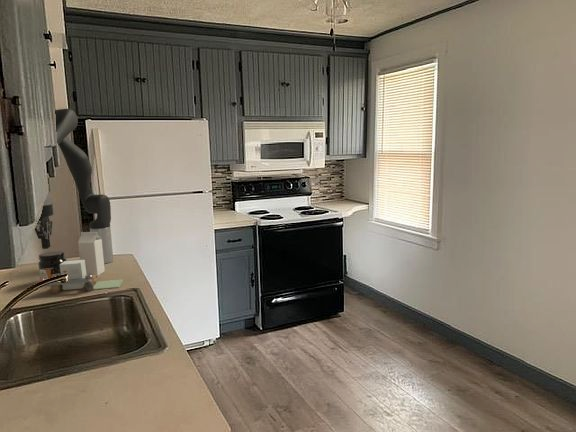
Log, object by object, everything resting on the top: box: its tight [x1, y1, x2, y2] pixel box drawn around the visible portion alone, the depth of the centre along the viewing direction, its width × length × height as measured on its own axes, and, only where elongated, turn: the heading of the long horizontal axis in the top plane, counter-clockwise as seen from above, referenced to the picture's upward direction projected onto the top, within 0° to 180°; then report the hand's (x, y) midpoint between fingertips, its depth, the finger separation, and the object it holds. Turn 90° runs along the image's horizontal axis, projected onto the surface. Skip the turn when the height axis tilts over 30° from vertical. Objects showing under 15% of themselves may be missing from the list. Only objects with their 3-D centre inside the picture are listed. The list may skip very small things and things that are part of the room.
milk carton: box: [77, 231, 105, 277], centre depth 188 cm, size 7×7×19 cm
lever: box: [39, 275, 93, 287], centre depth 165 cm, size 3×19×3 cm, turn 102°
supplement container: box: [37, 250, 68, 280], centre depth 180 cm, size 10×10×12 cm
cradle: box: [50, 275, 98, 294], centre depth 171 cm, size 15×15×3 cm
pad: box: [93, 278, 123, 291], centre depth 173 cm, size 10×10×1 cm
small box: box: [60, 259, 87, 291], centre depth 171 cm, size 8×6×10 cm
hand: (46, 247), depth 167 cm, fingers closed
